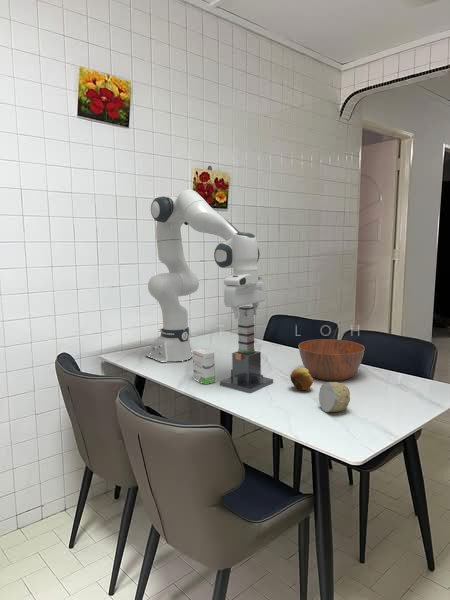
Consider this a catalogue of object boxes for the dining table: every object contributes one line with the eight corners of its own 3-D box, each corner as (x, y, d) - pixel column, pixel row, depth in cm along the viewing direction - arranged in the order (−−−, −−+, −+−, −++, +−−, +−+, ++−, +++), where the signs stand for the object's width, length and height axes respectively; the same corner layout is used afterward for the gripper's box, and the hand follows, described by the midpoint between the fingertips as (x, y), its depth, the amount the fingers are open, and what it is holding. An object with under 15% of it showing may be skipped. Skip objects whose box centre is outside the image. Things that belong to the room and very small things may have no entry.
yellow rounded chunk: (307, 386, 139) (333, 370, 141) (320, 413, 140) (345, 398, 143) (321, 393, 130) (348, 377, 132) (334, 423, 131) (361, 406, 133)
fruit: (308, 395, 151) (308, 372, 149) (286, 391, 155) (286, 368, 154) (316, 388, 157) (316, 366, 156) (294, 384, 161) (294, 363, 160)
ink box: (215, 382, 165) (215, 352, 164) (204, 385, 162) (203, 354, 161) (203, 377, 172) (202, 347, 171) (192, 379, 169) (191, 349, 168)
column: (238, 356, 161) (237, 307, 159) (245, 353, 164) (244, 306, 162) (247, 357, 158) (247, 308, 156) (254, 355, 162) (254, 306, 159)
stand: (220, 385, 162) (219, 352, 160) (243, 376, 173) (243, 345, 171) (250, 393, 153) (250, 358, 151) (273, 383, 164) (273, 350, 162)
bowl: (368, 369, 178) (368, 342, 177) (358, 388, 156) (359, 357, 154) (307, 363, 189) (307, 337, 187) (290, 380, 167) (290, 350, 165)
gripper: (255, 275, 167) (256, 311, 169) (220, 280, 152) (221, 319, 154) (269, 276, 163) (269, 313, 165) (234, 281, 148) (235, 321, 150)
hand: (246, 316), depth 159 cm, fingers open, 8 cm apart
